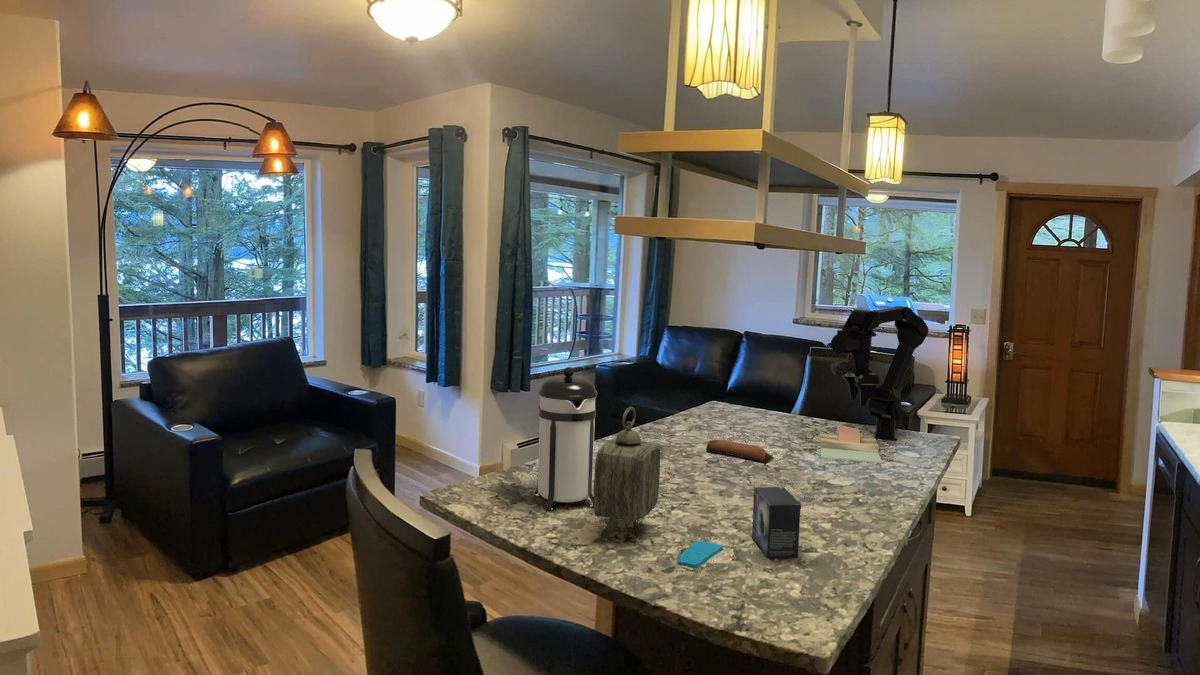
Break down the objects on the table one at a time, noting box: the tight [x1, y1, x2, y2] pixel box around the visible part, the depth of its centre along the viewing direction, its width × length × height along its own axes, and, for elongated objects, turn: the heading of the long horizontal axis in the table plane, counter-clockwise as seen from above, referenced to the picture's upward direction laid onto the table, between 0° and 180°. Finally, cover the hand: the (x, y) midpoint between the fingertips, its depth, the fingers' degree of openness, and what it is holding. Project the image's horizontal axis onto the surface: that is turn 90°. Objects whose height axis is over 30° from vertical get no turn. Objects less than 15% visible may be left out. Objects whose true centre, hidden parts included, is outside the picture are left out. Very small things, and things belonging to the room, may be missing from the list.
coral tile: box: [836, 426, 861, 443], centre depth 230 cm, size 9×6×2 cm, turn 165°
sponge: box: [676, 540, 723, 569], centre depth 142 cm, size 2×12×6 cm
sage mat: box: [820, 448, 883, 464], centre depth 218 cm, size 10×16×1 cm, turn 75°
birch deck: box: [819, 432, 880, 453], centre depth 229 cm, size 12×16×2 cm
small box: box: [751, 486, 802, 559], centre depth 147 cm, size 11×6×10 cm, turn 5°
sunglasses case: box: [705, 439, 775, 464], centre depth 215 cm, size 18×7×7 cm
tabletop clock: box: [593, 406, 661, 538], centre depth 152 cm, size 14×9×25 cm, turn 159°
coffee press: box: [533, 366, 598, 511], centre depth 170 cm, size 17×16×30 cm
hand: (857, 402), depth 233 cm, fingers open, 9 cm apart
